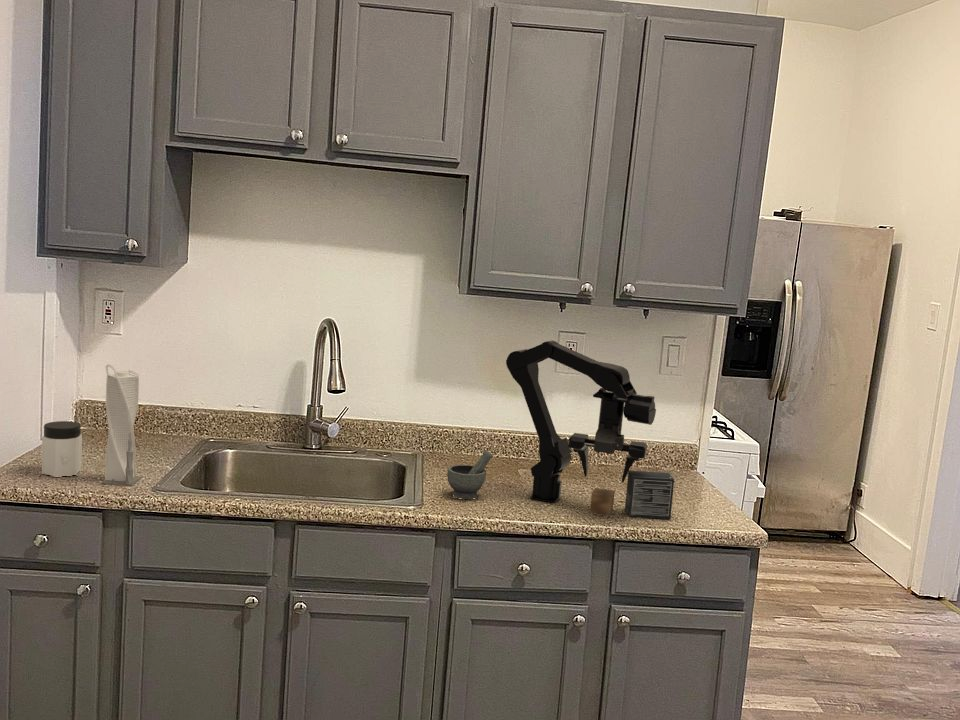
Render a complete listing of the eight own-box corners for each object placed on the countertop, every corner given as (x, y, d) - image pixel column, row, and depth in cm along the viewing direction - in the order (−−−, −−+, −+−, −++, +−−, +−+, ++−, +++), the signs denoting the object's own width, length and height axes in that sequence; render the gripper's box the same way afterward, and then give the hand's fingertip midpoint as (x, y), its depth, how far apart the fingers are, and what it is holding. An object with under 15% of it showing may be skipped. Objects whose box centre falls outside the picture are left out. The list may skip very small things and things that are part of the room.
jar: (45, 479, 221) (46, 429, 220) (38, 470, 228) (38, 422, 226) (85, 475, 227) (86, 427, 225) (77, 467, 233) (78, 420, 231)
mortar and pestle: (448, 501, 230) (451, 454, 228) (442, 490, 239) (446, 444, 237) (493, 502, 232) (497, 455, 230) (486, 491, 241) (489, 446, 239)
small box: (665, 512, 236) (669, 471, 234) (671, 520, 229) (676, 478, 228) (623, 509, 235) (627, 468, 234) (628, 517, 229) (633, 475, 227)
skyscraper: (95, 483, 221) (98, 366, 217) (108, 474, 229) (111, 361, 225) (131, 486, 221) (134, 369, 217) (143, 477, 229) (146, 364, 225)
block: (589, 512, 231) (591, 492, 230) (593, 506, 236) (594, 487, 235) (609, 515, 229) (612, 495, 229) (612, 510, 234) (614, 490, 233)
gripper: (567, 418, 224) (560, 481, 226) (645, 429, 219) (638, 493, 221) (575, 410, 234) (569, 470, 237) (650, 420, 230) (643, 482, 232)
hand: (604, 479), depth 231 cm, fingers open, 9 cm apart
